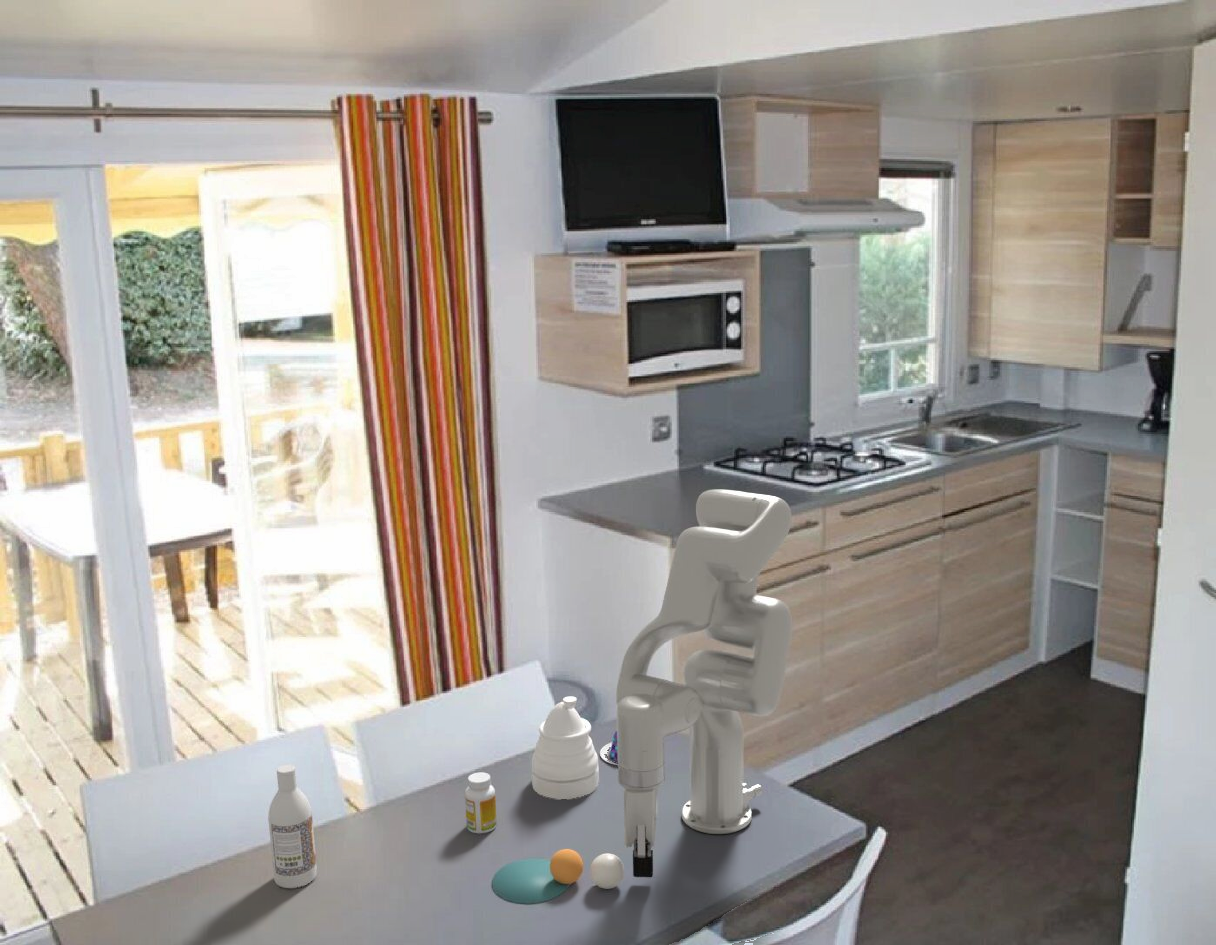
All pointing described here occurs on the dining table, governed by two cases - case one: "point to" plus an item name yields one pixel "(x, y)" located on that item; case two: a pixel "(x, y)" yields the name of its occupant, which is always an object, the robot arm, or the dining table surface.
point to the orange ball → (566, 866)
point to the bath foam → (291, 833)
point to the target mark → (527, 882)
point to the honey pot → (564, 755)
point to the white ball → (607, 871)
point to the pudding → (612, 752)
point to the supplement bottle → (480, 804)
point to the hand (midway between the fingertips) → (643, 874)
